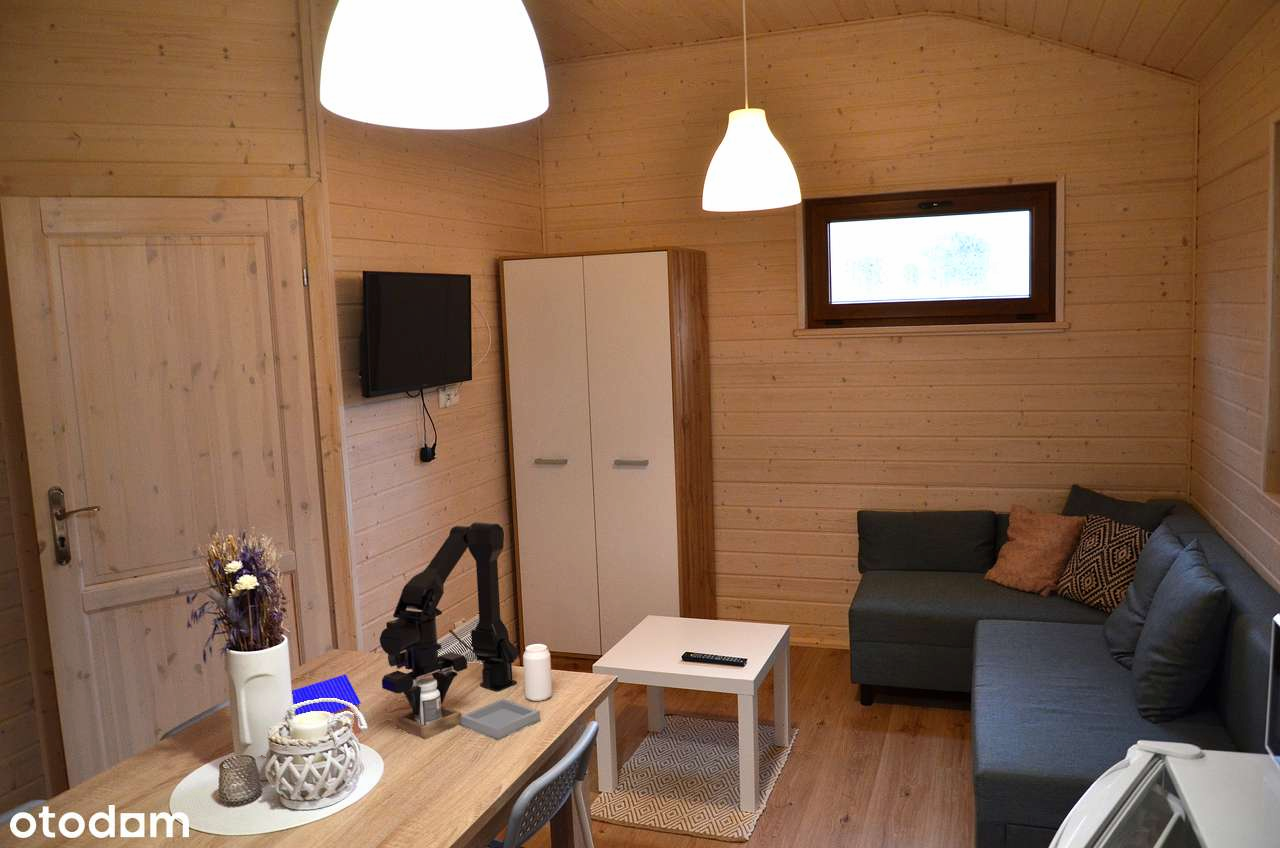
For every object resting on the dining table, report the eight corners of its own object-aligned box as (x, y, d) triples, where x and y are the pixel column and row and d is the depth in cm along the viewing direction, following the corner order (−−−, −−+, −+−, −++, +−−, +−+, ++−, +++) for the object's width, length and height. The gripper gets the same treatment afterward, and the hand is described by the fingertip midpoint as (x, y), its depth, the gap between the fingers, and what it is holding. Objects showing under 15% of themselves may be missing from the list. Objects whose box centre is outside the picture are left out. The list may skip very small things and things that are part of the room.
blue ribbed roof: (363, 733, 213) (359, 680, 212) (272, 765, 199) (267, 709, 198) (336, 718, 222) (332, 668, 220) (248, 748, 208) (243, 694, 206)
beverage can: (553, 692, 231) (550, 642, 230) (551, 702, 225) (548, 651, 224) (526, 693, 231) (523, 643, 230) (524, 703, 225) (521, 652, 224)
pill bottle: (445, 720, 217) (442, 676, 216) (437, 731, 212) (434, 686, 211) (420, 720, 218) (417, 676, 217) (411, 731, 212) (408, 686, 211)
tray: (503, 708, 223) (502, 698, 223) (540, 721, 215) (539, 710, 215) (461, 726, 214) (460, 716, 214) (498, 740, 206) (497, 729, 206)
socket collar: (433, 713, 222) (432, 702, 222) (462, 723, 215) (461, 712, 215) (396, 728, 214) (395, 717, 214) (424, 739, 208) (423, 728, 207)
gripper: (435, 622, 225) (439, 689, 227) (364, 645, 211) (369, 715, 213) (466, 631, 218) (470, 699, 219) (395, 655, 204) (400, 728, 205)
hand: (427, 710), depth 214 cm, fingers closed on pill bottle, 6 cm apart
